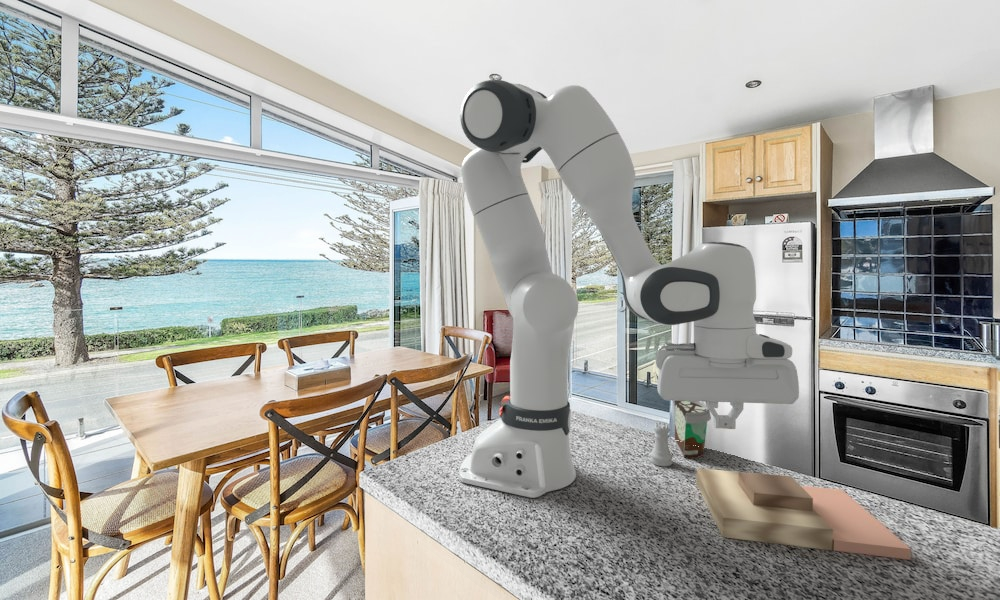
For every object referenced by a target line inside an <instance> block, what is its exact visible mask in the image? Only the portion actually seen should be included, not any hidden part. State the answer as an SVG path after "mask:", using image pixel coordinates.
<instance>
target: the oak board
mask: <svg viewBox="0 0 1000 600" xmlns="http://www.w3.org/2000/svg"><path fill="white" fill-rule="evenodd" d="M738 472H739V471H735V470H734V471H733V470H722V469H721V470H720V469H712V468H711V469H709V468H700V467H696V486H697V487H698V489H699V492H700V494H701V496H702V498H703V499H704V502H705V504H706V506H707V508H708V510H709V512H710V514H711V516H712V518H713V520H714V522H715V524H716V526H717V528H718V531H719V533H720V535H721V536H722V538H726V539H727V538H728V539H734V540H735V539H736V540H737V539H738V540H744V541H750V542H751V541H753V542H761V543H770V544H776V545H777V544H778V545H783V546H784V545H785V546H794V547H801V548H810V549H819V550H827V551H833V549H832V540H833V529H832V528H831V527H830V526H829V525H828V524H827V523H826V522H825V521H824V520H823V518H822V517H821V516H820V515H819V514H818V513H817V512H816V511H815V510H814V509H812V511H804V510H795V509H785V508H775V507H766V506H756V505H753V504H752V502H751V501H750V500H749V498H748V497H747V495H746V494H745V492H744V491H743V489H742V488H741V487H740V485H739V484H738Z"/></svg>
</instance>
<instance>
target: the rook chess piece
mask: <svg viewBox="0 0 1000 600" xmlns="http://www.w3.org/2000/svg"><path fill="white" fill-rule="evenodd" d="M652 429H653V431H655V433H654V438H655V439H654V446H653V448H652V450H651V451H650V457H649V461H650V462H651V463H652V464H653V465H655V466H658V467H663V468H665V467H670V466H671V465H673V463H674V462H673V460H672V459H673V454H672V453H671V450H670V449H669V438H670V436H669V435H668V434H669V433H670V432H671V429H670V428H669V424H668V423H666V422H662V423H661V422H660V421H659V422H658V421H657V422H655V424H654V427H652Z"/></svg>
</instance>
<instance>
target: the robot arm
mask: <svg viewBox="0 0 1000 600" xmlns="http://www.w3.org/2000/svg"><path fill="white" fill-rule="evenodd" d="M459 116H460V117H459V118H460V125H461V128H462V130H463V131H462V132H463V133H464V135H465V137H466V138H467V139H468V141H470V143H472V144H473V145H474V146H476V148H475V149H472V150H471V151H470V152H469V153H468V154H467V155H466V156H465V157H464V159H463V161H462V163H461V168H460V169H461V170H460V171H461V172H460V173H461V177H462V183H463V187H464V191H465V194H466V195H465V196H466V198H467V202H468V204H469V207H470V211H471V213H472V216H473V218H474V221H475V223H476V224H475V225H476V226H477V229H478V230H479V233H480V236H481V239H482V241H483V244H484V246H485V249H486V251H487V253H488V256H489V260H490V261H491V265H492V269H493V271H494V273H495V276H496V280H497V282H498V285H499V288H500V292H501V293H502V296H503V299H504V302H505V304H506V308H507V310H508V312H509V314H510V316H511V317H512V318H513V319H512V320H513V323H512V343H511V353H510V360H509V382H510V383H509V392H510V393H509V395H505V396H504V397H503V398H502V400H501V404H500V406H499V413H498V414H499V417H500V418H499V419H498V420H496V421H495V422H494V423H492V424H491V425H490V426H488V427H486V428H485V429H484V430H483V431H481V432H480V433H479V435H478V436H477V437H476V438H475V441H474V443H473V446H472V449H471V453H470V454H468V455H467V456H466V457H465V459H464V460H463V461H462V463H461V465H460V467H459V475H458V476H459V479H460V482H461V483H465V484H468V485H473V486H477V487H481V488H486V489H491V490H495V491H500V492H504V493H509V494H514V495H517V496H522V497H525V498H526V497H527V498H533V499H534V498H539V497H541V496H542V495H545V494H546V493H549V492H552V491H556V490H561V489H564V488H565V487H567V486H569V485H571V484H572V483H573V482H574V481H575V480H576V478H577V472H576V468H575V465H574V462H573V457H572V451H571V446H570V430H571V416H572V415H571V412H572V411H571V405H570V402H569V400H568V399H569V397H568V396H569V393H568V392H569V391H568V390H569V388H568V386H569V385H568V383H569V381H568V380H569V379H568V377H569V359H570V351H571V345H572V341H573V340H572V339H573V334H574V327H575V320H576V318H577V315H578V312H579V299H578V296H577V293H576V292H575V290H574V288H573V287H572V285H570V282H568V281H567V280H565V278H564V277H562V276H560V275H558V274H555V273H554V272H553V269H552V267H551V262H550V260H549V259H550V258H549V254H548V251H547V246H546V238H545V233H544V231H543V228H542V226H541V223H540V220H539V217H538V214H537V212H536V210H535V206H534V204H533V202H532V198H531V197H530V194H529V191H528V189H527V186H526V184H525V182H524V179H523V176H522V175H523V174H522V169H521V168H522V163H523V164H525V163H526V164H527V163H529V162H531V161H532V159H533V158H534V157H536V155H538V153H539V152H540V151H542V150H543V151H544V152H545V153H546V154H547V156H548V158H549V159H550V161H551V162H552V164H553V165H554V168H555V170H556V171H557V173H558V175H559V177H560V179H561V181H562V182H563V183H564V185H565V187H566V188H567V189H568V191H569V193H570V194H571V195H572V197H573V198H574V199H575V201H576V202H577V204H578V205H579V206H580V207H581V209H583V211H584V212H585V214H586V215H587V216H588V217H589V219H590V220H591V222H592V223H593V225H594V226H595V227H596V228H597V230H598V232H599V234H600V236H601V237H602V239H603V241H604V243H605V244H606V246H607V249H608V250H609V252H610V254H611V256H612V258H613V260H614V262H615V264H616V266H617V268H618V270H619V273H620V275H621V281H622V282H621V283H622V294H623V300H624V302H625V303H624V304H625V305H626V307H627V308H628V311H630V312H631V313H632V314H633V315H635V316H636V317H638V318H640V319H642V320H645V321H651V322H653V323H657V324H659V325H663V326H677V325H682V324H687V323H692V322H693V342H689V343H686V342H685V343H684V342H683V343H671V342H670V343H665V344H664V345H662V346H660V347H658V349H657V350H656V352H655V365H656V367H657V368H658V373H657V385H656V387H657V388H656V389H657V390H656V391H657V393H658V395H659V396H660V397H661V398H662V399H663V400H664V401H673V402H674V401H699V402H705V405H706V406H707V407H708V409H709V411H710V414H711V416H712V423H713V424H712V425H713V427H714V429H725V430H736V422H737V419H738V417H739V416H740V415H741V414H742V412H743V411H744V403H746V404H775V405H777V404H780V405H794V404H795V402H796V401H797V400H798V399H799V398H800V397H799V396H800V385H799V383H800V382H799V376H798V370H797V367H796V365H795V363H794V361H792V360H790V359H791V357H792V356H793V347H792V346H791V345H790V344H789V343H787V342H784V341H783V340H781V339H780V340H779V339H776V338H774V337H770V336H767V335H766V334H761V333H759V334H758V332H757V322H756V319H755V315H754V306H755V302H756V300H757V280H756V278H757V277H756V269H755V262H754V259H753V254H752V253H751V250H749V249H748V248H747V247H745V246H744V245H741V244H738V243H734V242H733V243H731V242H727V241H726V242H724V241H705V242H702V243H699V244H698V245H697V246H696V247H695V248H694V249H692V250H691V251H689V252H688V253H685V254H684V255H682V256H680V257H678V258H677V259H676V258H675V259H674V260H672V261H670V262H667V263H665V264H661V263H660V262H659V261H657V260H656V258H655V257H654V255H653V254H652V252H651V250H650V247H649V246H648V243H647V242H646V239H645V238H644V236H643V234H642V232H641V230H640V228H639V226H638V224H637V221H636V219H635V216H634V211H633V195H634V194H633V193H634V188H635V182H636V170H635V167H634V164H633V160H632V157H631V155H630V154H631V153H630V152H629V150H628V147H627V146H626V143H625V142H624V139H623V138H622V136H621V134H620V132H619V131H618V129H617V127H616V125H615V124H614V123H613V121H612V119H611V117H610V116H609V115H608V113H607V112H606V111H605V109H604V108H603V106H601V104H600V103H599V102H598V101H597V99H596V98H595V97H594V96H593V95H592V94H591V92H590V91H588V89H586V88H585V87H583V86H581V85H577V84H576V85H575V84H574V85H573V84H572V85H566V86H564V87H561V88H559V89H557V90H555V91H554V92H552V93H551V94H550V95H548V96H546V95H545V94H543V93H542V92H540V91H538V90H534V89H532V88H530V87H529V86H526V85H523V84H520V83H512V82H508V81H506V80H503V79H488V80H483V81H480V82H479V83H477V84H475V85H473V86H472V87H471V88H470V89H469V90H468V91H467V93H466V94H465V96H464V97H463V100H462V104H461V107H460V115H459ZM719 403H729V405H731V407H732V408H731V409H730V410H729V413H727V414H725V415H724V414H718V412H717V411H716V409H718V408H719Z"/></svg>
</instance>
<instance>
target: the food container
mask: <svg viewBox="0 0 1000 600" xmlns="http://www.w3.org/2000/svg"><path fill="white" fill-rule="evenodd" d="M673 406H674V442H675V444H676V446H677V448H678V450H679V452H680V453H681V455H682V457H683V459H696V458H697V459H698V458H700V457H702V456H703V455H704V452H705V447H706V446H705V445H706V436H707V427H708V421H711V419H712V415H711V412H710V410H709V409H708V407H707V406H706V403H703V402H702V401H673ZM675 440H679V441H675ZM680 441H682V442H680ZM693 445H694V446H693ZM695 445H696V446H695ZM698 446H699V447H698ZM703 448H704V449H703Z"/></svg>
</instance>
